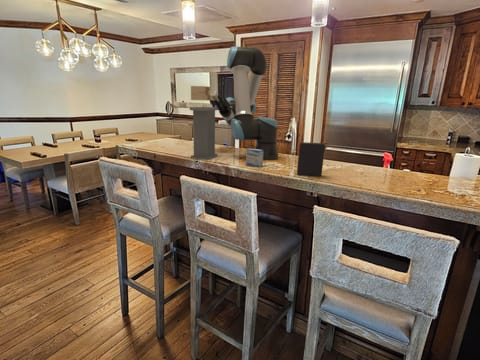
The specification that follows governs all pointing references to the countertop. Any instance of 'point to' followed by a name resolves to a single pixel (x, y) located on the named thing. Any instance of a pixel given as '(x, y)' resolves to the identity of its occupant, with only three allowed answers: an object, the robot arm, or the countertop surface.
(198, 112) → the grey tall block
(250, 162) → the medicine box
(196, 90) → the mallet
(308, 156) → the dark upright panel
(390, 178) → the countertop surface
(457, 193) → the countertop surface
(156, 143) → the countertop surface
